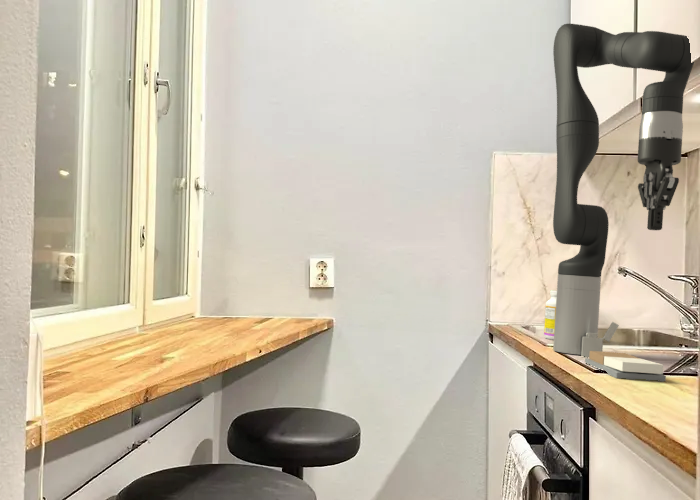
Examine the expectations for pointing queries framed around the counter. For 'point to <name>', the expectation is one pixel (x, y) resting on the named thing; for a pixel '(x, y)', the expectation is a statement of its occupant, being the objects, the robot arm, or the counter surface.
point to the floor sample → (598, 361)
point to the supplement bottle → (550, 316)
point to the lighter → (596, 340)
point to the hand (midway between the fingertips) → (654, 229)
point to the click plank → (633, 365)
